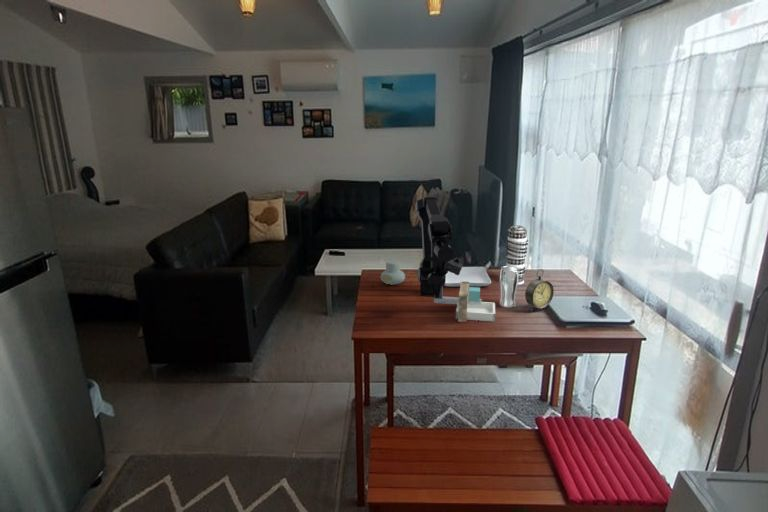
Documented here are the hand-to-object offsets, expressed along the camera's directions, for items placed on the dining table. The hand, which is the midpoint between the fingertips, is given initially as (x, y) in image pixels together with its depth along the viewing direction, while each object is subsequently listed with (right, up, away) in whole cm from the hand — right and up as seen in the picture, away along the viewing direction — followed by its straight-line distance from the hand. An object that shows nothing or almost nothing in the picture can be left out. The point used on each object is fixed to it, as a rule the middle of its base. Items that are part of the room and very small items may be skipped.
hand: (438, 293), depth 175 cm
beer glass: (+28, -5, +7) cm, 29 cm away
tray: (+14, -8, -1) cm, 16 cm away
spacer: (+13, -2, -2) cm, 13 cm away
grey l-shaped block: (+7, -4, 0) cm, 8 cm away
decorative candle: (+37, +3, +32) cm, 49 cm away
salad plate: (+16, +3, +34) cm, 38 cm away
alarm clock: (+38, -6, +3) cm, 39 cm away
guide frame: (+9, -8, 0) cm, 12 cm away
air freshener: (-16, +2, +33) cm, 37 cm away
